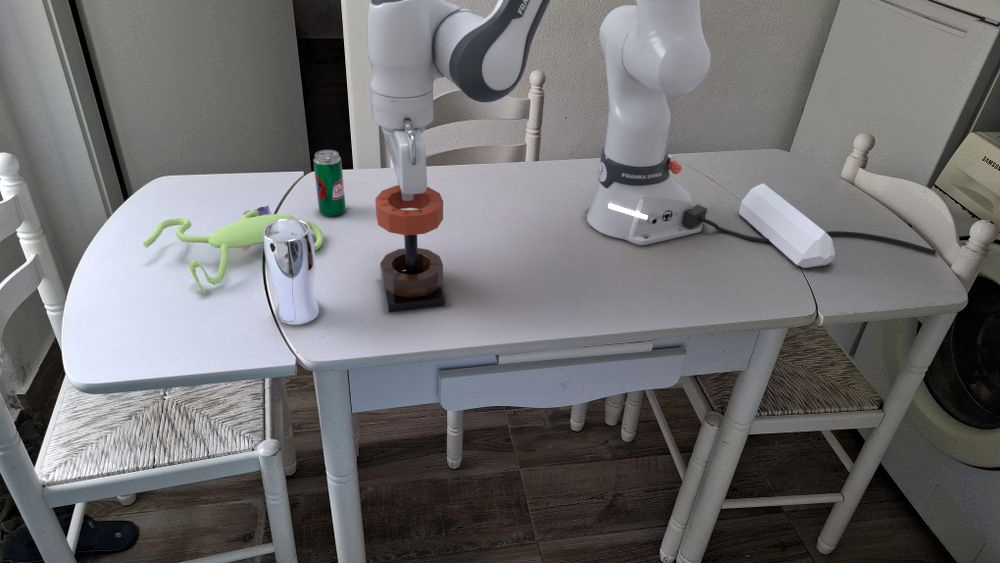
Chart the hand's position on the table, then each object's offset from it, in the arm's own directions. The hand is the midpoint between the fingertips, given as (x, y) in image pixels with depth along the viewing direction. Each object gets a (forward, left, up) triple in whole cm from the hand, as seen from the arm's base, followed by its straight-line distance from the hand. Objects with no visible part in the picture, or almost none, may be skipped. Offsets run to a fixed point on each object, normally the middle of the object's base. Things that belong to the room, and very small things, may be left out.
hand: (405, 193), depth 106 cm
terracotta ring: (0, +4, -2) cm, 5 cm away
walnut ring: (0, +2, -15) cm, 15 cm away
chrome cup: (+18, +6, -16) cm, 25 cm away
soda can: (+11, -26, -16) cm, 33 cm away
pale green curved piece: (+28, -14, -16) cm, 35 cm away
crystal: (-72, 0, -16) cm, 74 cm away
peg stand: (0, +4, -16) cm, 17 cm away
